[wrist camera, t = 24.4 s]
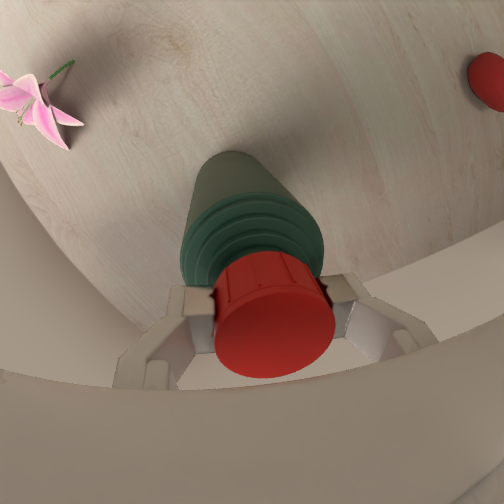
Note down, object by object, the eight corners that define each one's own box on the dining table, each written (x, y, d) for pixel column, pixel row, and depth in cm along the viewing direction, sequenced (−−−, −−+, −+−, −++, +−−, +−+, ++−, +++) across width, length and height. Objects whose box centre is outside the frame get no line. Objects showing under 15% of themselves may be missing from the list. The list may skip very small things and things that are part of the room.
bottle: (267, 218, 26) (344, 372, 11) (198, 222, 26) (187, 392, 10) (268, 150, 23) (385, 230, 7) (193, 153, 23) (150, 243, 7)
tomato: (455, 80, 21) (498, 85, 14) (467, 41, 17) (506, 41, 11) (484, 118, 23) (522, 129, 17) (495, 79, 20) (531, 85, 14)
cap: (208, 253, 9) (207, 297, 7) (319, 246, 10) (347, 285, 7) (216, 336, 11) (219, 383, 9) (306, 327, 11) (324, 369, 9)
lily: (13, 78, 15) (-45, 132, 10) (68, -5, 10) (-13, 28, 5) (76, 138, 24) (32, 202, 18) (144, 72, 18) (91, 129, 13)
